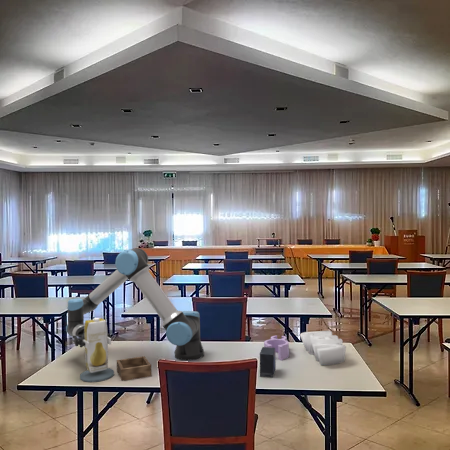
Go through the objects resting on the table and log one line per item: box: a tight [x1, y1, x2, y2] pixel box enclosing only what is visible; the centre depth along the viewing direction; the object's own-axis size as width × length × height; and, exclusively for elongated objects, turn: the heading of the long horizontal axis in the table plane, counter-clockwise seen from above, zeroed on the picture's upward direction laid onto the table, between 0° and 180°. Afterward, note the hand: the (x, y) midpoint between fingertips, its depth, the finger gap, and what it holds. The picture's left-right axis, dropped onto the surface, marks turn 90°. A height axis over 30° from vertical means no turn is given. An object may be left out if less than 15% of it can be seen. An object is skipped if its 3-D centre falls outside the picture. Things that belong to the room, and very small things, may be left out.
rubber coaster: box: [79, 367, 115, 383], centre depth 204 cm, size 15×15×1 cm
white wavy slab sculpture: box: [299, 330, 347, 366], centre depth 223 cm, size 35×16×11 cm, turn 4°
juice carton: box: [84, 317, 109, 373], centre depth 204 cm, size 9×8×24 cm
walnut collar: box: [116, 355, 152, 382], centre depth 206 cm, size 13×14×5 cm
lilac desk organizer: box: [263, 335, 290, 361], centre depth 229 cm, size 20×12×7 cm, turn 166°
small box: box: [259, 346, 277, 378], centre depth 202 cm, size 11×6×10 cm, turn 168°
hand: (99, 343), depth 200 cm, fingers closed on juice carton, 9 cm apart
